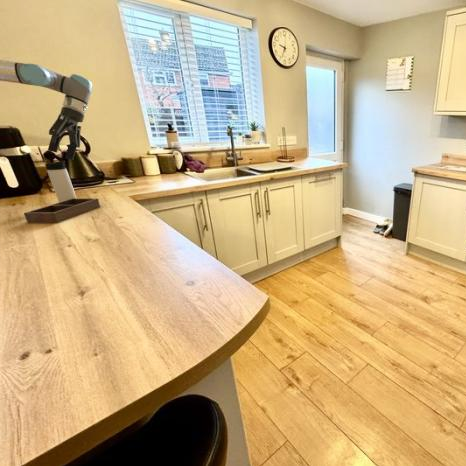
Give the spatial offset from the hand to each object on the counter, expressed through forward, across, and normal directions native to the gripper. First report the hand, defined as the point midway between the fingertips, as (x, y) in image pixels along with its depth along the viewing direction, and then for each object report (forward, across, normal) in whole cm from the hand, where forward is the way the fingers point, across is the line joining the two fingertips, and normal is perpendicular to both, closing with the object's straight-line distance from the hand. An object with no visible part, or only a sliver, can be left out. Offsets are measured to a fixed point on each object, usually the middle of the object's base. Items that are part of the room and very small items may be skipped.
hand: (61, 155), depth 128 cm
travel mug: (+21, +5, -6) cm, 23 cm away
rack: (+25, -11, -12) cm, 30 cm away
